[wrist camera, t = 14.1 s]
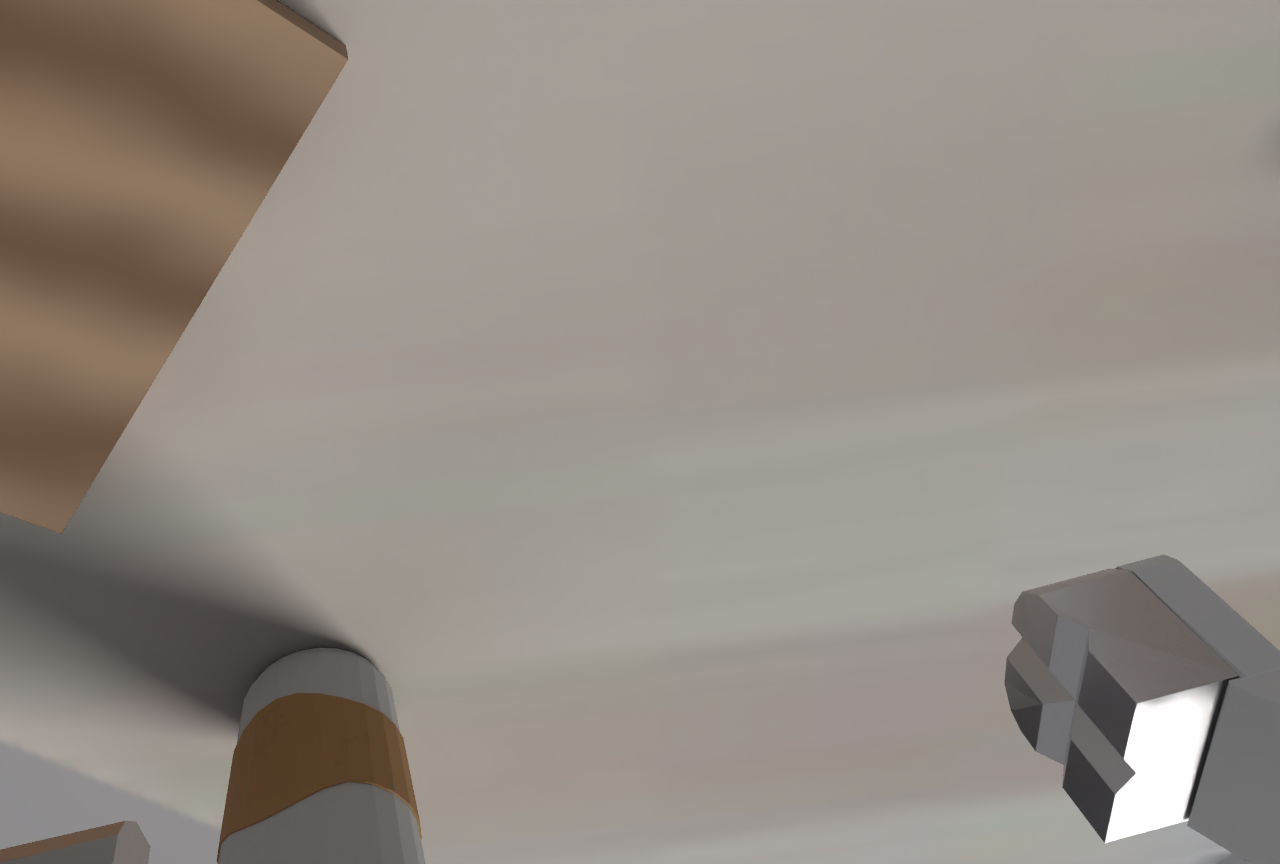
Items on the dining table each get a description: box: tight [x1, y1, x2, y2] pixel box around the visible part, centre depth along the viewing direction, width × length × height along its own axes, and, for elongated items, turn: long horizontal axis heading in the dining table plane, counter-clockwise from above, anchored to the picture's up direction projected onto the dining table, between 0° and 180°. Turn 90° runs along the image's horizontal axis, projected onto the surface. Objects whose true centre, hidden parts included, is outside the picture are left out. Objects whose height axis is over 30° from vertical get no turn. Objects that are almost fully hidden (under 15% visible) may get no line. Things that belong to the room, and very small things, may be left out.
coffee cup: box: [217, 648, 425, 864], centre depth 43 cm, size 8×8×15 cm
